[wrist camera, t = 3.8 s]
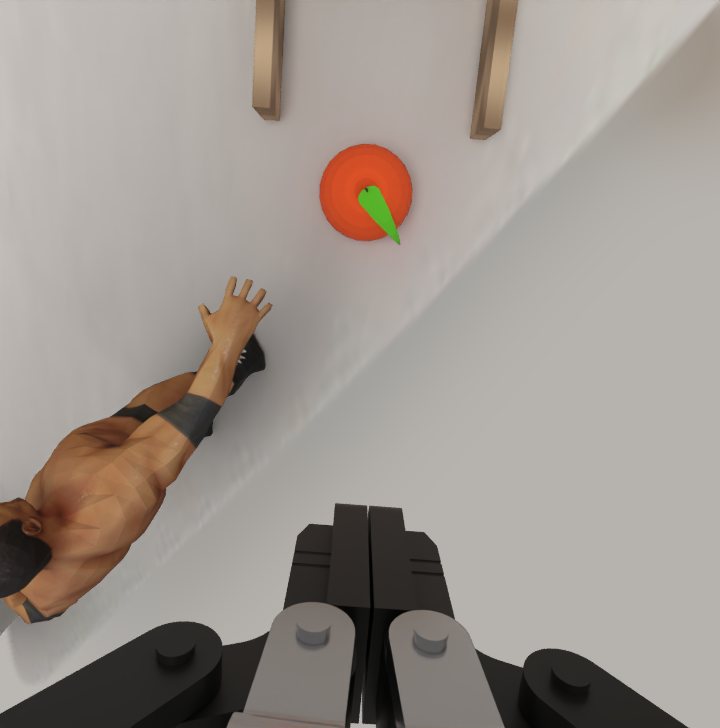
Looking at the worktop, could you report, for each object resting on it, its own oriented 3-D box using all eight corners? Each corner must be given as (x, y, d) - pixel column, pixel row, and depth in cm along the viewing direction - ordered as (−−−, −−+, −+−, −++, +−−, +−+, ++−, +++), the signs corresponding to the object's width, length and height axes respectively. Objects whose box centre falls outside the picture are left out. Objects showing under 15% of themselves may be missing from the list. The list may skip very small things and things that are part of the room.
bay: (485, 139, 45) (500, 129, 40) (264, 119, 44) (252, 106, 39) (509, -52, 42) (530, -89, 37) (272, -76, 41) (260, -116, 36)
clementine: (432, 218, 46) (445, 216, 39) (361, 267, 47) (362, 274, 40) (376, 131, 45) (380, 114, 38) (305, 184, 46) (295, 176, 39)
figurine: (266, 241, 47) (114, 270, 17) (327, 290, 48) (278, 395, 18) (102, 456, 51) (-239, 765, 22) (160, 497, 52) (-92, 845, 23)
